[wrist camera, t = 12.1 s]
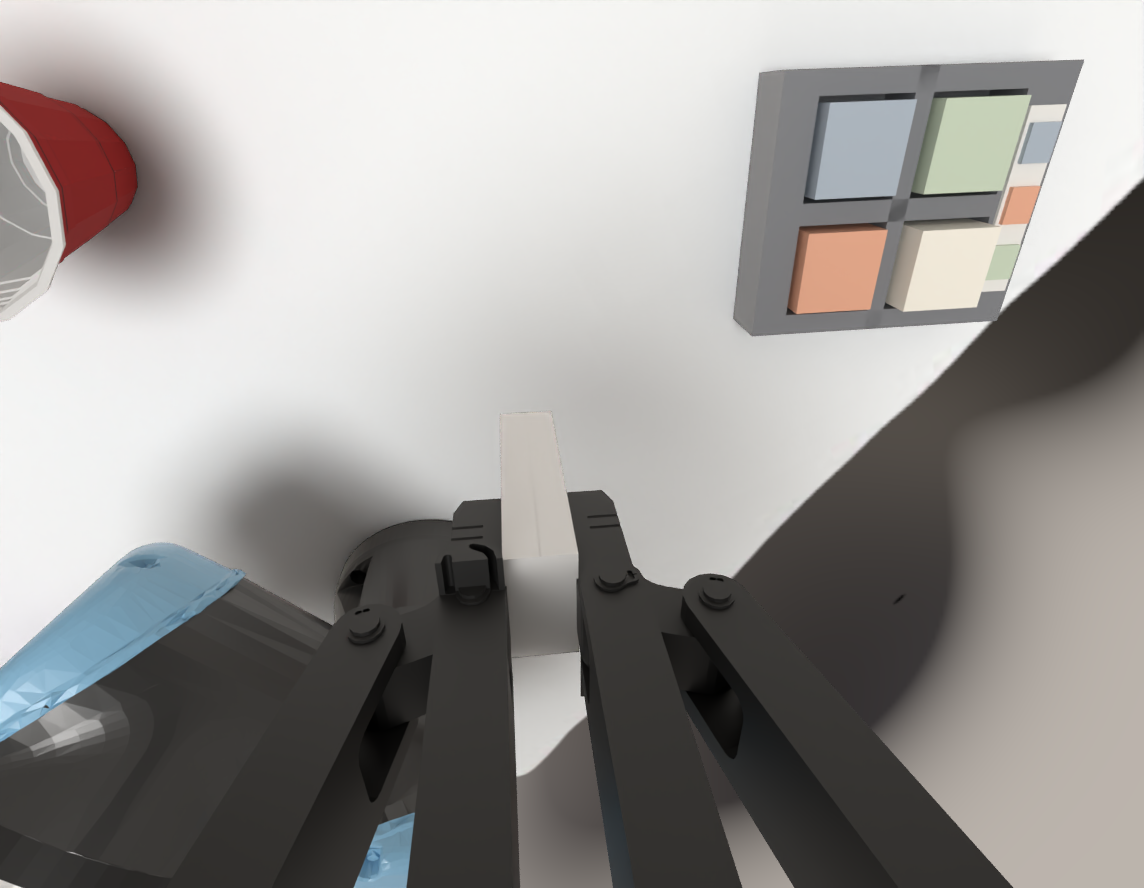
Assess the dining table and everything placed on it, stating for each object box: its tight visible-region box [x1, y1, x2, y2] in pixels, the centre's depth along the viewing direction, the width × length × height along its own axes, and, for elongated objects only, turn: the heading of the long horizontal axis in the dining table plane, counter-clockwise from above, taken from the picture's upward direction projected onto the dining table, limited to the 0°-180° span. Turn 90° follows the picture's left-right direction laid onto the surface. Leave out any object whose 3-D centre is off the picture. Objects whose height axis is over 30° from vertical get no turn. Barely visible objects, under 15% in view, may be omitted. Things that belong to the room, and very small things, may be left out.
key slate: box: [804, 99, 917, 200], centre depth 33 cm, size 5×5×3 cm
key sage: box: [911, 95, 1032, 194], centre depth 33 cm, size 5×5×3 cm
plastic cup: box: [0, 82, 138, 322], centre depth 27 cm, size 11×11×12 cm
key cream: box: [885, 218, 1002, 312], centre depth 36 cm, size 5×5×3 cm
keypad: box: [733, 60, 1084, 336], centre depth 35 cm, size 14×16×4 cm
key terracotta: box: [787, 223, 888, 314], centre depth 36 cm, size 5×5×3 cm
